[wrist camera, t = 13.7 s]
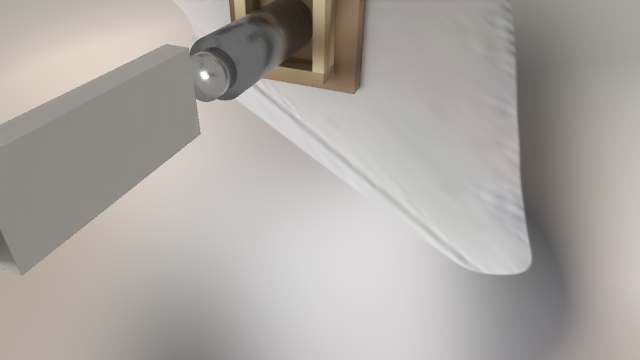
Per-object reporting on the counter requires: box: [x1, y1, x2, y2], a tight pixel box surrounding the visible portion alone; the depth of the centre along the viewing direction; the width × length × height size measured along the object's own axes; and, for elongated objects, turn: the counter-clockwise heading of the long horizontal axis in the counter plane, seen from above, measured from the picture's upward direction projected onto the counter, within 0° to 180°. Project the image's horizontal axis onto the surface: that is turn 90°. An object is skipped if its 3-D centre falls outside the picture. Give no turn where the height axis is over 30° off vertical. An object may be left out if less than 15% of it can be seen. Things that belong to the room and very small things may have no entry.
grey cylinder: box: [190, 0, 313, 102], centre depth 36 cm, size 4×4×14 cm
